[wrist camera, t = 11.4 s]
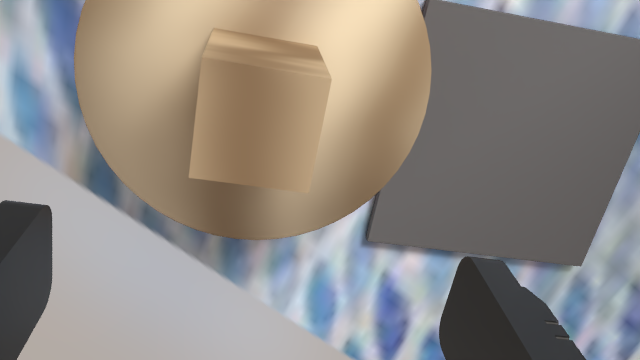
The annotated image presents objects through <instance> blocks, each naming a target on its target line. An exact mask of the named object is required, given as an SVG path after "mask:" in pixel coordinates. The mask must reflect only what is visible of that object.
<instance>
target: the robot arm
mask: <svg viewBox="0 0 640 360" xmlns="http://www.w3.org/2000/svg"><path fill="white" fill-rule="evenodd" d="M51 284H52V212H51V209H50V207H49V206H48V205H41V204H32V203H24V202H16V201H7V200H5V201H2V202H1V203H0V360H17V358H18V356H19V354H20V353H21V351H22V349H23V347H24V345H25V344H26V342H27V340H28V338H29V336H30V335H31V333H32V331H33V329H34V328H35V326H36V324H37V322H38V321H39V319H40V317H41V315H42V313H43V311H44V309H45V307H46V305H47V302H48V298H49V295H50V290H51ZM439 338H440V345H441V349H442V351H443V354H444V356H445V359H446V360H586V359H585V358H584V356H583V355H582V353H581V352H580V351H579V349H578V348H577V347H576V345H575V344H574V342H573V341H572V340H569V335H568V334H567V333H566V331H565V330H564V328H563V327H562V326H561V325H558V320H557V319H556V317H555V316H554V315H553V313H552V312H551V310H550V309H549V308H548V306H547V305H546V304H545V303H544V302H543V301H542V300H540V299H539V298H538V297H537V296H535V295H534V294H533V293H532V292H530V291H529V290H528V289H527V288H525V287H521V286H520V284H519V283H518V281H517V280H516V279H515V277H514V276H513V274H512V273H511V271H510V270H509V268H508V267H507V266H506V264H505V263H504V262H503V261H500V260H493V259H485V258H476V257H468V256H467V257H464V258H463V259H462V260H461V262H460V263H459V266H458V268H457V271H456V274H455V277H454V280H453V283H452V286H451V289H450V292H449V295H448V299H447V302H446V305H445V308H444V311H443V314H442V317H441V321H440V328H439Z"/></svg>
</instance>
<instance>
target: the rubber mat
mask: <svg viewBox="0 0 640 360" xmlns="http://www.w3.org/2000/svg"><path fill="white" fill-rule="evenodd" d="M422 15H423V18H424V21H425V24H426V28H427V34H428V39H429V44H430V52H431V84H430V94H429V99H428V104H427V109H426V114H425V117H424V120H423V122H422V125H421V128H420V131H419V134H418V136H417V138H416V140H415V142H414V144H413V146H412V148H411V150H410V152H409V154H408V156H407V157H406V159H405V160H404V162H403V163H402V165H401V166H400V168H399V169H398V171H397V172H396V173H395V174H394V175H393V177H392V178H391V179H390V180H389V181H388V182H387V184H386V185H385V186H384V187H383V188H382V189H381V190H380V191H379V192H378V193H377V195H376V199H375V202H374V206H373V210H372V214H371V218H370V222H369V226H368V230H367V234H366V238H367V241H371V242H380V243H388V244H396V245H405V246H413V247H422V248H430V249H438V250H447V251H455V252H464V253H472V254H480V255H489V256H497V257H506V258H514V259H522V260H531V261H539V262H548V263H556V264H564V265H573V266H581V265H582V263H583V261H584V259H585V256H586V254H587V252H588V249H589V247H590V245H591V242H592V240H593V238H594V236H595V233H596V231H597V229H598V226H599V224H600V222H601V220H602V217H603V215H604V213H605V210H606V208H607V206H608V203H609V201H610V199H611V197H612V194H613V192H614V190H615V187H616V185H617V183H618V180H619V178H620V176H621V174H622V171H623V169H624V167H625V164H626V162H627V160H628V158H629V155H630V153H631V151H632V148H633V146H634V144H635V141H636V139H637V137H638V135H639V132H640V39H637V38H632V37H627V36H621V35H616V34H611V33H606V32H601V31H596V30H591V29H586V28H580V27H575V26H570V25H565V24H560V23H555V22H550V21H544V20H539V19H534V18H529V17H524V16H519V15H514V14H509V13H503V12H498V11H493V10H488V9H483V8H478V7H473V6H468V5H462V4H457V3H452V2H447V1H442V0H426V2H425V6H424V10H423V14H422Z"/></svg>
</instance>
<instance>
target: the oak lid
mask: <svg viewBox="0 0 640 360" xmlns="http://www.w3.org/2000/svg"><path fill="white" fill-rule="evenodd" d="M74 68H75V83H76V89H77V94H78V99H79V105H80V108H81V111H82V114H83V117H84V120H85V123H86V126H87V128H88V130H89V132H90V134H91V136H92V138H93V141H94V143H95V145H96V147H97V148H98V150H99V151H100V153H101V154H102V156H103V158H104V159H105V161H106V162H107V164H108V165H109V167H110V168H111V169H112V170H113V171H114V173H115V174H116V175H117V176H118V177H119V178H120V180H121V181H122V182H123V183H124V184H125V185H126V186H127V187H128V188H129V189H130V190H131V191H133V192H134V193H135V194H136V195H137V196H138V197H139V198H140V199H142V200H143V201H144V202H146V203H147V204H148V205H150V206H151V207H153V208H154V209H155V210H157V211H158V212H160V213H162V214H164V215H166V216H167V217H169V218H171V219H173V220H174V221H176V222H179V223H181V224H184V225H186V226H188V227H191V228H193V229H196V230H199V231H202V232H206V233H209V234H213V235H217V236H223V237H228V238H234V239H248V240H265V239H279V238H285V237H291V236H297V235H300V234H304V233H307V232H311V231H314V230H317V229H320V228H322V227H324V226H327V225H329V224H332V223H334V222H336V221H338V220H340V219H341V218H343V217H345V216H347V215H349V214H350V213H352V212H354V211H355V210H356V209H358V208H359V207H361V206H362V205H363V204H365V203H366V202H367V201H369V200H370V199H371V198H372V197H373V196H374V195H375V194H376V193H378V192H379V191H380V190H381V189H382V188H383V187H384V186H385V185H386V184H387V182H388V181H389V180H390V179H391V178H392V177H393V175H394V174H395V173H396V172H397V171H398V169H399V168H400V166H401V165H402V163H403V162H404V160H405V159H406V157H407V156H408V154H409V152H410V150H411V148H412V146H413V144H414V142H415V140H416V138H417V136H418V134H419V131H420V128H421V125H422V122H423V120H424V117H425V114H426V109H427V104H428V99H429V94H430V84H431V52H430V44H429V39H428V34H427V28H426V24H425V21H424V18H423V15H422V12H421V9H420V6H419V3H418V1H417V0H86V1H85V3H84V6H83V8H82V11H81V16H80V20H79V24H78V28H77V32H76V41H75V52H74Z"/></svg>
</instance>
